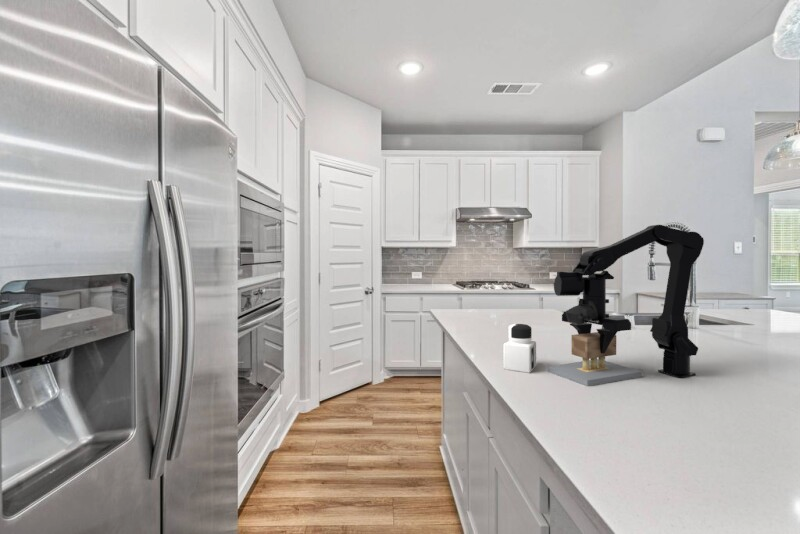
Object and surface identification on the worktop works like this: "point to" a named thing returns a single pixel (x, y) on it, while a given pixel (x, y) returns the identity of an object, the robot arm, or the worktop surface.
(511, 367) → the container
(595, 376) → the pin board
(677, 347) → the robot arm
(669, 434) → the worktop surface
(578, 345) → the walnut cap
